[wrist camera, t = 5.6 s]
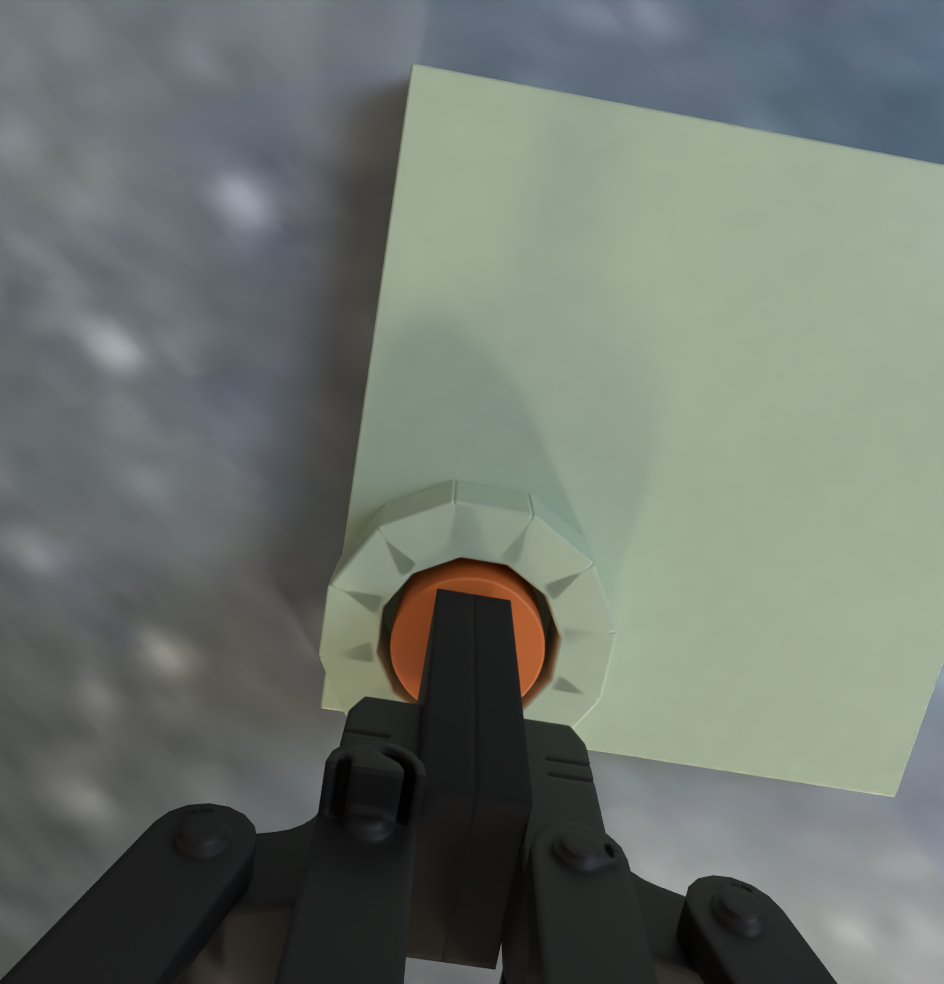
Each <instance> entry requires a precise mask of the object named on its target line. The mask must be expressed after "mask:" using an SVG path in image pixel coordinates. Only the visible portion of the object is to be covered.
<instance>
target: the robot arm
mask: <svg viewBox="0 0 944 984" xmlns="http://www.w3.org/2000/svg"><path fill="white" fill-rule="evenodd" d="M589 765H590V762H589V758H588V754H587V749H586V745H585V743H584V742H583V741H582V740H581V738H580V737H579V736H578V735H577V734H576V733H575V731H574V730H573V729H572V728H571V727H570V726H569V725H562V724H556V723H549V722H543V721H537V720H530V719H524V716H523V707H522V697H521V688H520V679H519V670H518V661H517V652H516V643H515V634H514V625H513V616H512V607H511V600H506V599H500V598H494V597H488V596H482V595H475V594H469V593H463V592H457V591H451V590H445V589H438V588H437V592H436V598H435V604H434V609H433V615H432V621H431V626H430V632H429V638H428V643H427V649H426V655H425V660H424V666H423V672H422V677H421V683H420V689H419V695H418V700H417V704H413V703H406V702H400V701H393V700H387V699H380V698H374V697H367V696H365V697H364V698H362V699H361V700H360V701H359V702H358V703H357V704H355V705H354V706H353V707H352V708H351V709H350V710H349V712H348V715H347V719H346V723H345V727H344V732H343V735H342V739H341V743H340V747H338V748H337V749H335V750H333V751H332V752H331V754H330V756H329V757H328V759H327V760H326V763H325V770H324V777H323V784H322V790H321V797H320V804H319V811H318V814H317V815H316V816H315V817H314V818H313V819H311V820H310V821H308V822H306V823H305V824H303V825H301V826H298V827H295V828H292V829H290V830H284V831H278V832H271V833H259V834H256V831H255V826H254V825H253V824H252V822H251V821H250V820H249V819H248V818H247V817H246V816H245V815H244V814H242V813H240V812H238V811H236V810H234V809H232V808H230V807H227V806H221V805H216V804H210V803H208V804H194V805H187V806H184V807H181V808H178V809H175V810H172V811H169V812H168V813H166V814H165V815H164V816H162V817H161V818H159V819H158V820H156V821H155V822H154V823H153V824H152V825H151V826H150V827H149V828H148V829H147V830H146V831H145V832H144V833H143V834H142V835H141V836H140V837H139V838H138V839H137V840H136V841H135V843H134V844H133V845H132V846H131V847H130V848H129V849H128V850H127V851H126V852H125V853H124V854H123V855H122V856H121V857H120V858H119V859H118V860H117V861H116V862H115V863H114V864H113V865H112V866H111V867H110V868H109V869H108V870H107V871H106V872H105V873H104V874H103V875H102V876H101V878H100V879H99V880H98V881H97V882H96V883H95V884H94V885H93V886H92V887H91V888H90V889H89V890H88V891H87V892H86V893H85V894H84V895H83V896H82V897H81V898H80V899H79V900H78V901H77V902H76V903H75V904H74V905H73V906H72V907H71V908H70V909H69V910H68V911H67V912H66V914H65V915H64V916H63V917H62V918H61V919H60V920H59V921H58V922H57V923H56V924H55V925H54V926H53V927H52V928H51V929H50V930H49V931H48V932H47V933H46V934H45V935H44V936H43V937H42V938H41V939H40V940H39V941H38V942H37V943H36V944H35V945H34V946H33V947H32V948H31V950H30V951H29V952H28V953H27V954H26V955H25V956H24V957H23V958H22V959H21V960H20V961H19V962H18V963H17V964H16V965H15V966H14V967H13V968H12V969H11V970H10V971H9V972H8V973H7V974H6V975H5V976H4V977H3V978H2V979H1V980H0V984H404V973H405V961H406V957H410V958H417V959H424V960H431V961H438V962H445V963H452V964H460V965H467V966H474V967H481V968H488V969H495V968H496V964H497V959H498V955H499V951H500V946H501V942H502V963H503V970H502V974H501V979H500V983H499V984H837V982H836V981H835V980H834V978H833V977H832V976H831V974H830V973H829V972H828V970H827V969H826V968H825V966H824V965H823V964H822V962H821V961H820V960H819V958H818V957H817V956H816V954H815V953H814V952H813V950H812V949H811V948H810V946H809V945H808V944H807V942H806V941H805V939H804V938H803V937H802V935H801V934H800V933H799V931H798V930H797V929H796V927H795V926H794V925H793V923H792V922H791V921H790V919H789V918H788V917H787V915H786V914H785V913H784V911H783V910H782V909H781V908H780V907H779V906H778V905H777V904H776V903H775V902H774V901H773V900H772V899H771V898H770V897H769V896H768V895H766V894H765V893H763V892H761V891H760V890H758V889H757V888H755V887H754V886H752V885H750V884H747V883H745V882H742V881H740V880H737V879H734V878H731V877H723V876H714V875H712V876H708V877H703V878H698V879H697V880H696V881H695V882H693V883H692V884H691V885H690V886H689V887H688V891H687V894H686V897H685V896H682V895H680V894H677V893H675V892H672V891H669V890H667V889H664V888H661V887H659V886H656V885H654V884H652V883H650V882H648V881H646V880H644V879H642V878H640V877H639V876H637V875H636V874H634V873H632V872H631V871H630V867H629V863H628V860H627V858H626V856H625V854H624V852H623V850H622V848H621V847H620V846H619V845H618V844H617V843H616V842H615V841H614V840H613V839H612V838H611V837H610V836H609V835H607V834H606V833H605V829H604V824H603V820H602V816H601V811H600V807H599V802H598V798H597V793H596V789H595V785H594V783H593V776H592V771H591V767H589Z"/></svg>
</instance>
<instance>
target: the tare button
mask: <svg viewBox="0 0 944 984" xmlns="http://www.w3.org/2000/svg"><path fill="white" fill-rule="evenodd" d="M437 588H438V589H445V590H451V591H457V592H463V593H469V594H475V595H482V596H488V597H494V598H500V599H506V600H511V607H512V616H513V625H514V634H515V643H516V652H517V661H518V670H519V679H520V688H521V697H523V696H524V695H525V694H526V693H527V692H528V690H529V689H530V688H531V687H532V685H533V684H534V682H535V681H536V679H537V677H538V675H539V673H540V671H541V668H542V664H543V661H544V654H545V640H544V633H543V627H542V622H541V616H540V610H539V605H538V602H537V598H536V596H535V593H534V591H533V589H532V587H531V586H530V584H529V583H528V581H526V580H525V579H524V578H523V577H521V576H520V575H519V574H518V573H516V572H515V571H514V570H512V569H511V568H510V567H509V566H507V565H504V564H498V563H492V562H486V561H480V560H474V559H468V558H461V557H460V558H457V559H454V560H451V561H448V562H445V563H442V564H439V565H436V566H433V567H430V568H428V569H425V570H422V571H419V572H416V573H415V574H414V575H413V576H412V577H411V579H410V580H409V581H408V583H407V584H406V586H405V587H404V589H403V591H402V593H401V596H400V598H399V601H398V605H397V610H396V614H395V619H394V624H393V629H392V634H391V642H390V652H391V659H392V664H393V667H394V670H395V673H396V674H397V676H398V678H399V680H400V682H401V683H402V685H403V686H404V688H405V689H406V690H407V691H408V692H409V693H410V694H411V695H412V696H413V697H414V698H415V699H416V700H418V695H419V689H420V683H421V677H422V672H423V666H424V660H425V655H426V649H427V643H428V638H429V632H430V626H431V621H432V615H433V609H434V604H435V598H436V592H437Z"/></svg>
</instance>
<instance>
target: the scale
mask: <svg viewBox="0 0 944 984" xmlns="http://www.w3.org/2000/svg"><path fill="white" fill-rule="evenodd" d="M460 557H461V558H468V559H474V560H480V561H486V562H492V563H498V564H504V565H507V566H509V567H510V568H511V569H512V570H514V571H515V572H516V573H518V574H519V575H520V576H521V577H523V578H524V579H525V580H526V581H528V583H529V584H530V586H531V587H532V589H533V591H534V593H535V596H536V598H537V602H538V605H539V610H540V616H541V622H542V627H543V633H544V640H545V654H544V661H543V664H542V668H541V671H540V673H539V675H538V677H537V679H536V681H535V682H534V684H533V685H532V687H531V688H530V689H529V690H528V692H527V693H526V694H525V695H524V696H523V697H522V707H523V716H524V719H530V720H537V721H543V722H549V723H556V724H562V725H569V726H570V727H571V728H572V729H573V730H574V731H575V733H576V734H577V735H578V736H579V737H580V738H581V740H582V741H583V742H584V743H585V745H586V749H588V750H594V751H601V752H607V753H614V754H620V755H627V756H633V757H639V758H646V759H652V760H659V761H665V762H672V763H678V764H684V765H691V766H697V767H704V768H710V769H717V770H723V771H729V772H736V773H742V774H749V775H755V776H762V777H768V778H774V779H781V780H787V781H794V782H800V783H807V784H813V785H819V786H826V787H832V788H839V789H845V790H852V791H858V792H864V793H871V794H877V795H884V796H890V797H895V796H896V793H897V790H898V787H899V784H900V782H901V779H902V776H903V773H904V770H905V768H906V765H907V762H908V759H909V757H910V754H911V751H912V748H913V745H914V743H915V740H916V737H917V734H918V731H919V729H920V726H921V723H922V720H923V717H924V715H925V712H926V709H927V706H928V704H929V701H930V698H931V695H932V692H933V690H934V687H935V684H936V681H937V678H938V676H939V673H940V670H941V667H942V665H943V662H944V165H943V164H938V163H932V162H927V161H922V160H917V159H911V158H906V157H901V156H896V155H890V154H885V153H880V152H875V151H870V150H864V149H859V148H854V147H849V146H843V145H838V144H833V143H828V142H822V141H817V140H812V139H807V138H801V137H796V136H791V135H786V134H780V133H775V132H770V131H765V130H759V129H754V128H749V127H744V126H738V125H733V124H728V123H723V122H718V121H712V120H707V119H702V118H697V117H691V116H686V115H681V114H676V113H670V112H665V111H660V110H655V109H649V108H644V107H639V106H634V105H628V104H623V103H618V102H613V101H607V100H602V99H597V98H592V97H586V96H581V95H576V94H571V93H565V92H560V91H555V90H550V89H545V88H539V87H534V86H529V85H524V84H518V83H513V82H508V81H503V80H497V79H492V78H487V77H482V76H476V75H471V74H466V73H461V72H455V71H450V70H445V69H440V68H434V67H429V66H424V65H419V64H412V66H411V72H410V79H409V86H408V93H407V101H406V108H405V115H404V122H403V129H402V136H401V143H400V150H399V157H398V164H397V171H396V178H395V185H394V192H393V199H392V206H391V213H390V220H389V227H388V234H387V241H386V248H385V255H384V263H383V270H382V277H381V284H380V291H379V298H378V305H377V312H376V319H375V326H374V333H373V340H372V347H371V354H370V361H369V368H368V375H367V382H366V389H365V396H364V403H363V410H362V417H361V425H360V432H359V439H358V446H357V453H356V460H355V467H354V474H353V481H352V488H351V495H350V502H349V509H348V516H347V523H346V530H345V537H344V544H343V551H342V555H341V557H340V559H339V560H338V563H337V565H336V568H335V570H334V572H333V575H332V577H331V580H330V582H329V584H328V588H327V595H326V602H325V609H324V616H323V624H322V631H321V638H320V645H319V652H318V653H319V658H320V660H321V662H322V664H323V667H324V669H325V678H324V685H323V692H322V699H321V708H325V709H331V710H337V711H344V713H345V715H346V717H347V715H348V712H349V710H350V709H351V708H352V707H353V706H354V705H355V704H357V703H358V702H359V701H360V700H361V699H362V698H364V697H365V696H367V697H374V698H380V699H387V700H393V701H400V702H406V703H413V704H417V700H416V699H415V698H414V697H413V696H412V695H411V694H410V693H409V692H408V691H407V690H406V689H405V688H404V686H403V685H402V683H401V682H400V680H399V678H398V676H397V674H396V673H395V670H394V667H393V664H392V659H391V652H390V642H391V634H392V629H393V624H394V619H395V614H396V610H397V605H398V601H399V598H400V596H401V593H402V591H403V589H404V587H405V586H406V584H407V583H408V581H409V580H410V579H411V577H412V576H413V575H414V574H415V573H416V572H419V571H422V570H425V569H428V568H430V567H433V566H436V565H439V564H442V563H445V562H448V561H451V560H454V559H457V558H460Z"/></svg>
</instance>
